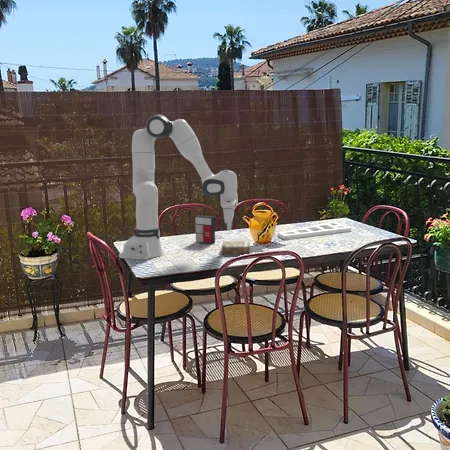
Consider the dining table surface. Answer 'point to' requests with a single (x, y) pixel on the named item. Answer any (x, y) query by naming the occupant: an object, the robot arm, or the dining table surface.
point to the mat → (252, 249)
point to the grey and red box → (205, 229)
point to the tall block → (235, 247)
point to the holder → (314, 230)
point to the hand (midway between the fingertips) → (229, 228)
